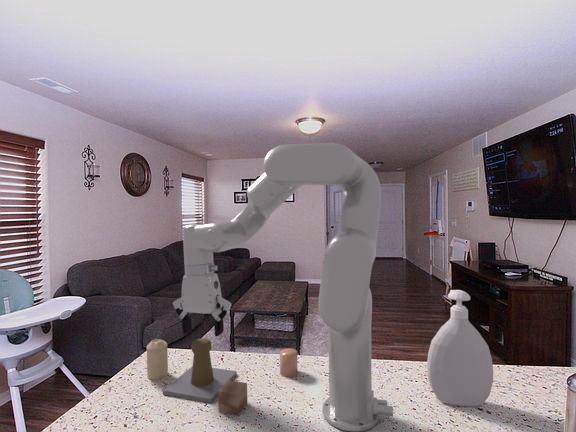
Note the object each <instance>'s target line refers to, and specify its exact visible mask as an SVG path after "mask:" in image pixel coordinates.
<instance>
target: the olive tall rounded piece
mask: <svg viewBox="0 0 576 432" xmlns="http://www.w3.org/2000/svg"><path fill="white" fill-rule="evenodd" d="M211 349H212V341H211V340H210V339H208V338H204V337H202V338H198V339H195V340H194V341H193V342H192V344H191V351H192V352H191V353H192V354H193V358H192V366H193V367H192V366H191V367H192V376H191V384H192V385H193V386H206V385H208V384H210V383H212V382H213V380H214V377H213V371H212V368H213V365H212V359H211V353H210V352H211Z"/></svg>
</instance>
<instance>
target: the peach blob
mask: <svg viewBox="0 0 576 432" xmlns="http://www.w3.org/2000/svg"><path fill="white" fill-rule="evenodd" d="M298 371H299V370H298V350H297V349H295V348H289V347H288V348H283V349H281V350H280V352H279V372H280V373H279V374H280V375H281V376H282V377H284V378H294V377H296V376H297V375H298Z"/></svg>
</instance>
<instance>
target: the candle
mask: <svg viewBox="0 0 576 432" xmlns="http://www.w3.org/2000/svg"><path fill="white" fill-rule="evenodd" d="M168 354H169V353H168V343H167V342H166V341H165V340H163V339H160V338H154V339H151V341H150V342H149V343H148V344H147V345H146V368H147V369H146V370H147V371H146V375H147V378H148V379H149V380H159V379H162V378H165V377H166V376H167V375H168V374H169V364H168V363H169V362H168V361H169V360H168V359H169V357H168Z"/></svg>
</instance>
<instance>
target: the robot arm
mask: <svg viewBox="0 0 576 432" xmlns="http://www.w3.org/2000/svg"><path fill="white" fill-rule="evenodd" d="M263 171H264V172H263V173H262V174H261V175H260V177H258V178H257V179H256V180H255V181H254V182H253V183H252V184H251V185H250V186H249V187H247V189H246V196H247V200H248V202H247V204H246V205H245V207H244V208H243V210H241V211H240V212H239V213H238V214H237V215H236V216H235V217H234V218H233V219H232V220H228V221H227V220H226V221H219V222H218V221H217V222H212V223H190V224H186V225H184V227H182V243H183V258H184V259H183V261H184V275H183V277H182V283H181V297H179V298H177V299H176V300H174V301H173V302H172V305H173V308H174V310H175V312H176V314H177V315H178V316H179V319H180V320H181V327H182V328H181V330H182V334H183V335H186V334H188V333H189V332H192V330H193V328H192V315H191V314H202V315H205V314H206V315H207V314H208V315H210V314H211V316H212V317H213V318H214V319H215V320H214V322H213V328H214V329H213V330H214V337H219V336H221V335H222V334H223V332H224V330H225V329H224V318H225V317H226V316H227V315H228V314H229V311H230V309H231V307H232V302H230V301H229V300H227V299H226V298H223V297H222V289H221V284H220V280H219V276H218V274H217V273H216V271H218V265H215V262H214V253H221V252H226V251H228V250H233V249H237V248H240V247H242V246H243V245H245V244H246V243H247V242H249V240H251V239H252V238H253V237H254V236H255V235H256V234H257V233H259V231H260V230H261V229H262V228H263V226H265V224H266V222H267V221H268V220H269V219H270V217H271V215H272V214H273V213H274V212H275V211H276V210H277V209H278V208H279V207H280V206H281V205H283V204H284V202H286V201H287V200H288V199H289V198H291V196H293V194H294V193H296V192H297V191H298V190H299V189H300V188H301V187H303V185H304V186H305V185H306V186H307V185H310V186H313V185H315V186H316V185H317V186H333V187H335V188H336V187H337V188H340V189H341V192H342V194H343V195H342V203H341V207H340V216H339V222H338V223H339V225H338V228H337V229H338V231H337V233H336V234H335V235H334V236H333V237H332V238H331V239H330V240H329V242H328V243H327V245H326V249H325V252H324V255H323V262H322V269H321V270H322V271H321V278H320V284H319V285H320V286H319V293H318V303H317V304H318V312H319V316H320V318H321V320H322V322H323V324H325V326H327V328H328V391H329V392H328V393H329V394H328V395H329V397H328V398H326V399H325V400H324V402H323V404H322V415H323V417H324V419H325V420H326V421H327V422H328V424H330V425H331V426H332V427H335V428H336V429H339V430H342V431H347V432H365V431H368V430H370V429H372V428H374V427H375V426H376V425H377V424H378V422H379V419H380V415H384V416H386V417H394V407H393V405H388V400H387V399H380V398H377V397H375V391H374V390H372V389H373V388H372V383H373V382H372V380H373V377H372V320H373V319H372V315H373V297H372V296H373V295H372V291H371V288H370V283H371V276H372V269H373V265H374V262H375V259H376V256H377V240H378V234H379V224H380V213H381V205H382V187H381V183H380V179H379V177H378V174H377V173H376V171H375V170H374V169H373V167H372V166H371V165H370V164H369V163H368V162H367V161H365V159H363V158H361V157H360V156H358V155H357V154H356V153H355V152H354V151H352V149H351V148H349V147H348V146H346V145H345V144H341V143H337V142H336V143H335V142H320V143H317V142H316V143H295V144H292V143H291V144H290V143H289V144H288V143H287V144H280V145H277V146H275V147H273V148H272V149H271V150H269V151H268V152H267V154H266V155H265V157H264V160H263ZM222 307H223V310H222Z"/></svg>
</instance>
